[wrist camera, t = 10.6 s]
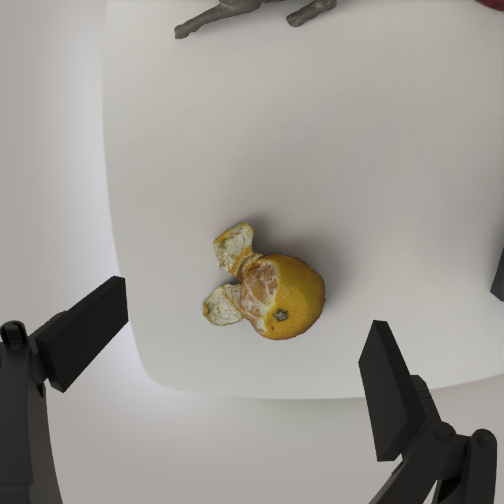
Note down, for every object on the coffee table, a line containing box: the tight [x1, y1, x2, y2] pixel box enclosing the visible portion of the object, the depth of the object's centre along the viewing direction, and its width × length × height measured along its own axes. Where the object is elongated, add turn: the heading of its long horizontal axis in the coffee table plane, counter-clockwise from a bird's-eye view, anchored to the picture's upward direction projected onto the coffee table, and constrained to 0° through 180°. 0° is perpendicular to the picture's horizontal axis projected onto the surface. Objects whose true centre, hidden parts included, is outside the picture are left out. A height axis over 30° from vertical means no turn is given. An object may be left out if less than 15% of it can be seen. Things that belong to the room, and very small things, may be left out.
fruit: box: [203, 223, 326, 340], centre depth 20 cm, size 8×8×4 cm
